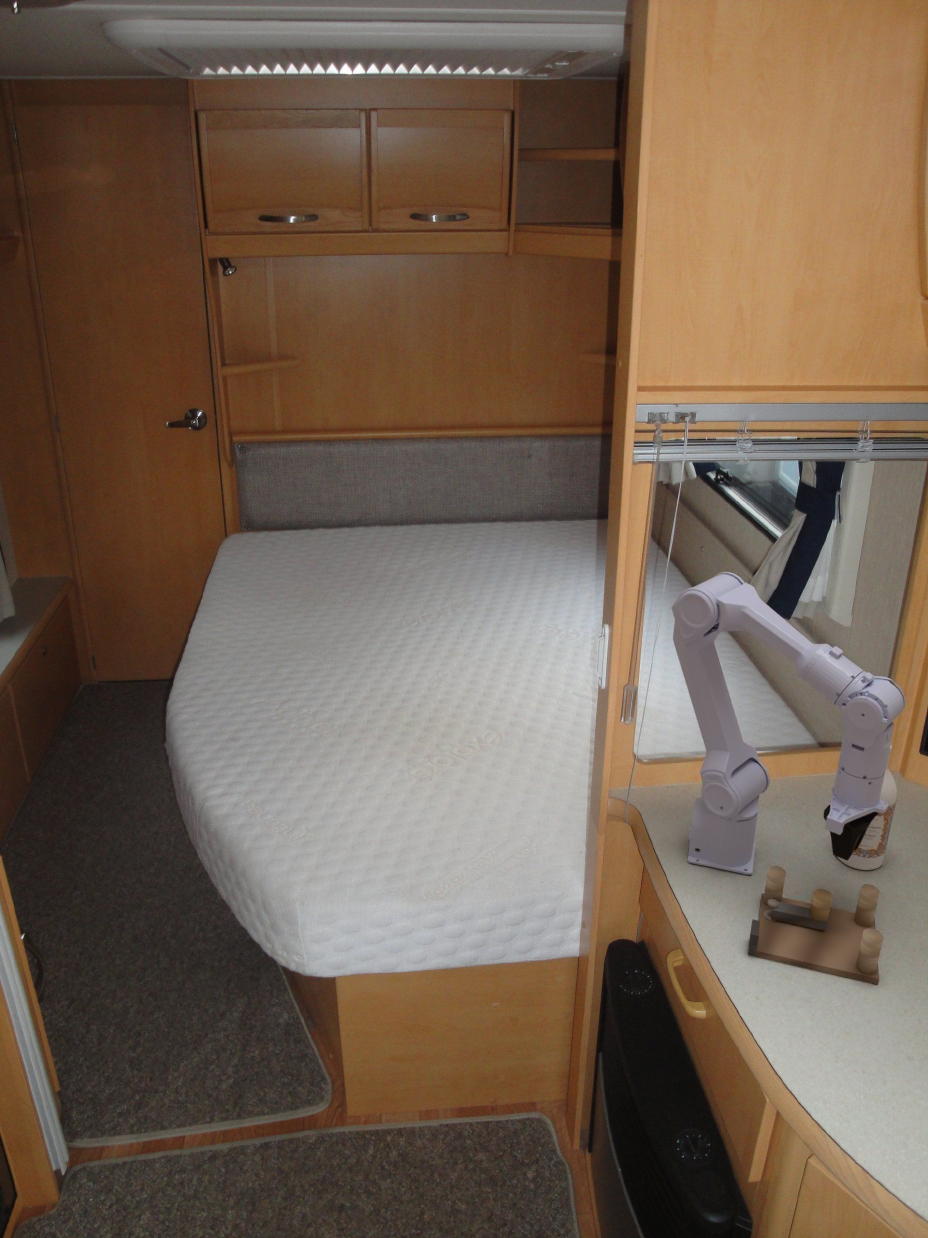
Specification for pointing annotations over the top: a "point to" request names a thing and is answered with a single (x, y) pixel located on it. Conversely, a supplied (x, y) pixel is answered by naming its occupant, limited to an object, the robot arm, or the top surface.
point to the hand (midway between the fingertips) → (845, 851)
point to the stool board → (820, 935)
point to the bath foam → (876, 830)
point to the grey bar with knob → (804, 911)
